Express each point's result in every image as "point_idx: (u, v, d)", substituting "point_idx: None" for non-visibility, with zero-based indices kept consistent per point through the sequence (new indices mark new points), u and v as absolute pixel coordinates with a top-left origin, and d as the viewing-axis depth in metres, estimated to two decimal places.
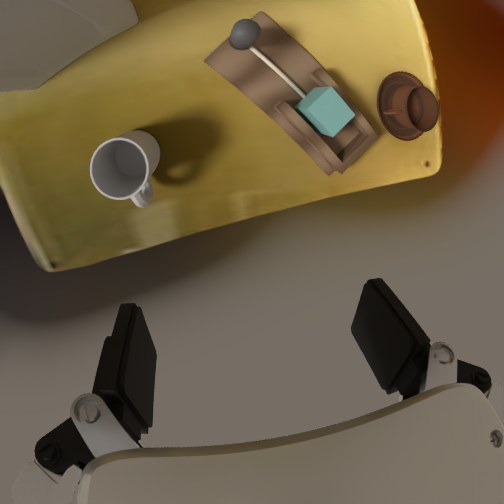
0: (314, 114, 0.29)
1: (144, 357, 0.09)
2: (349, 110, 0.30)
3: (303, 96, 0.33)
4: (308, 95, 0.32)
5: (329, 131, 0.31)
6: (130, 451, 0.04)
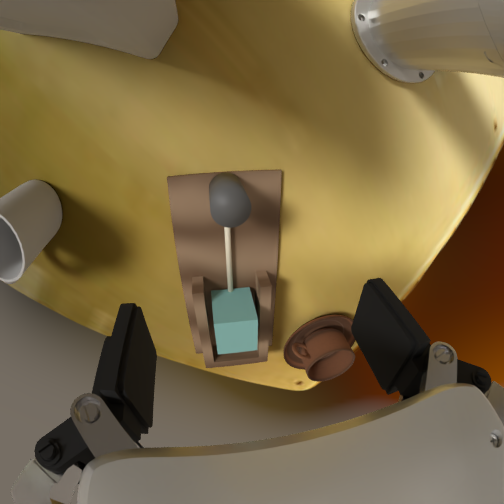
0: (216, 331, 0.27)
1: (144, 357, 0.09)
2: (255, 344, 0.29)
3: (229, 289, 0.31)
4: (234, 293, 0.31)
5: (218, 349, 0.29)
6: (130, 451, 0.04)
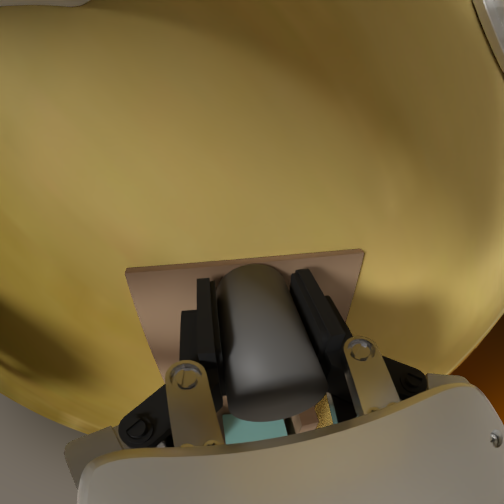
0: None
1: None
2: None
3: None
4: (258, 421, 0.18)
5: None
6: (130, 451, 0.04)
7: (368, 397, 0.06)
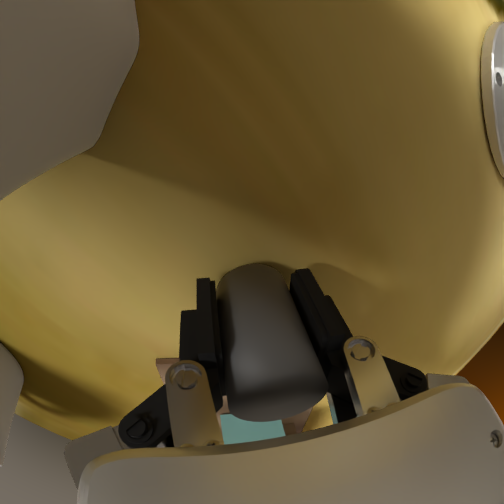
0: None
1: None
2: None
3: None
4: (256, 421, 0.18)
5: None
6: (130, 451, 0.04)
7: (368, 397, 0.06)
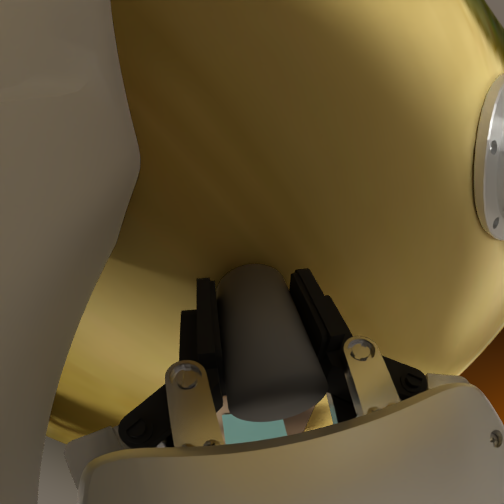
0: None
1: None
2: None
3: None
4: (258, 421, 0.18)
5: None
6: (130, 451, 0.04)
7: (368, 397, 0.06)
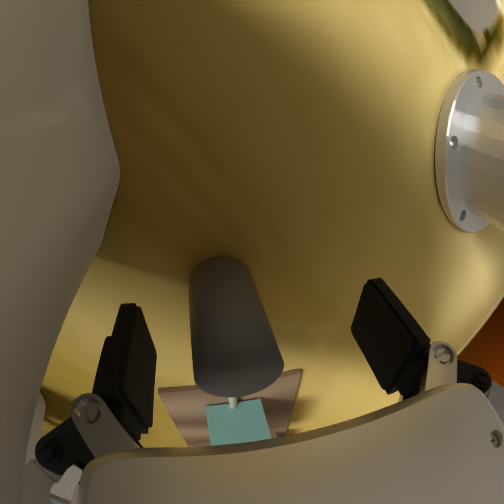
0: None
1: (144, 357, 0.09)
2: None
3: (232, 406, 0.19)
4: (239, 412, 0.19)
5: None
6: (130, 451, 0.04)
7: None
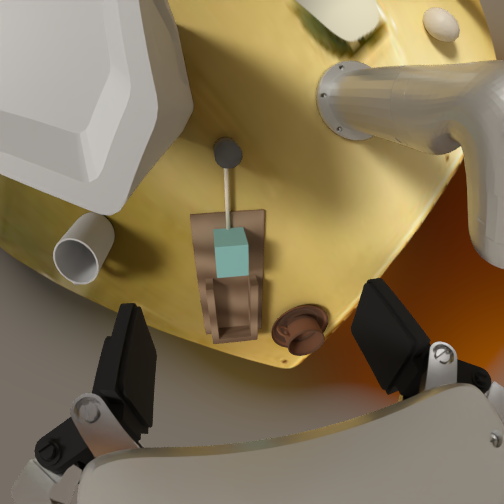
0: (216, 254, 0.37)
1: (144, 357, 0.09)
2: (246, 269, 0.39)
3: (227, 227, 0.41)
4: (231, 230, 0.40)
5: (217, 272, 0.38)
6: (130, 451, 0.04)
7: None
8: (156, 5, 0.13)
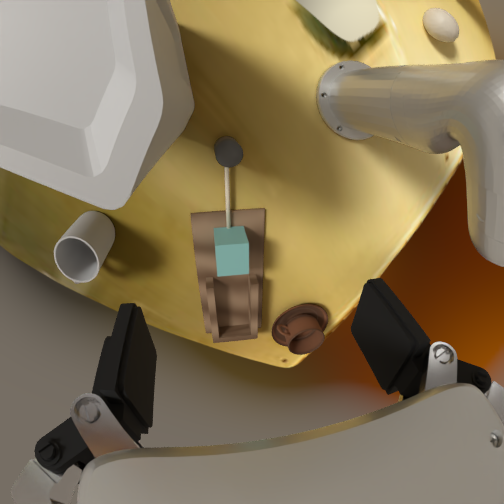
0: (217, 253, 0.37)
1: (144, 357, 0.09)
2: (247, 268, 0.39)
3: (227, 226, 0.41)
4: (231, 229, 0.40)
5: (218, 271, 0.38)
6: (130, 451, 0.04)
7: None
8: (158, 4, 0.14)
